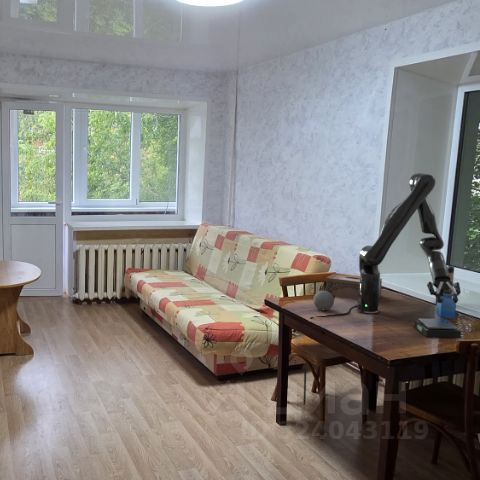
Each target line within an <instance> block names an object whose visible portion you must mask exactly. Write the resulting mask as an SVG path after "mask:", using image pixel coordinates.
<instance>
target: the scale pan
mask: <svg viewBox="0 0 480 480" xmlns="http://www.w3.org/2000/svg"><path fill="white" fill-rule="evenodd" d="M417 320H418V321H420V322H421V323H422V324H423V325H425V326H426V327H427V328H428V329H459V328H458V327H457V326H456V324H453V323H452V322H450V321H449V320H448V319H447V318H417Z"/></svg>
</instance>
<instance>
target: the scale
mask: <svg viewBox="0 0 480 480" xmlns="http://www.w3.org/2000/svg"><path fill="white" fill-rule="evenodd" d="M414 328H415V329H416V330H417V331H419V333H421V334H422V335H423V336H424V337H426V338H451V339H452V338H455V339H457V338H458V339H460V338H461V335H462V331H461V330H460V329H459V328H458V329H428V328H427V327H426V326H425V325H423V324H422V323H421V322H420V321H418V319H415V320H414Z"/></svg>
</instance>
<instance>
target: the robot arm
mask: <svg viewBox="0 0 480 480" xmlns="http://www.w3.org/2000/svg"><path fill="white" fill-rule="evenodd" d="M435 178H436V177H434V175H433V174H429V173H423V172H415V173H414V174H412V175H411V176H410V178H409V180H408V185H409V189H410V193H409V194H408V195H407V197H406V198H405V199H404V200H402V201H401V202H399V203H398V204H397V205H396V206H394V208H392V209H391V210H390V213H388V215H387V217H386V218H385V219H384V222H383V225H382V226H381V231H380V233H379V236H378V238H377V239H376V241H375V242H374V244H373V245H371V244H370V245H365V246H363V247H362V248H361V250H360V251H359V255H358V256H359V257H358V258H359V259H358V271H359V276H360V291H359V292H358V300H357V301H355V305H353V306H351V307H350V308H349V310H348V311H347V312H344V313H334V314H335V315H331V314H326V315H327V316H316V317H312V316H311V317H309V320H312V319H314V318H330V317H331V318H332V317H337V316H347V315H349V314H350V313H352V310H353V309H356V310H358V312H359V313H362V314H370V315H371V314H372V315H373V314H378V313H379V310H380V309H379V308H380V297H379V289H380V279H381V272H380V270H379V265H381V264H382V262H383V261H384V259H385V258H386V256H387V254H388V252H389V250H390V248H391V247H392V245H393V244H394V243H395V241H396V239H397V238H398V237H399V236H400V234H401V232H402V231H403V230H404V229H405V227H406V225H407V224H409V221H410V220H411V218H412V217H413V215H414V214H415V212H416V211H417V214H418V218H419V219H418V220H419V225H420V230H421V233H423V234H426V235H433V236H427V237H422V238H420V240H419V242H418V243H419V247H420V250H421V251H422V252H423V253H424V255H425V256H426V259H427V261H428V267H429V272H430V276H431V279H432V282H431V281H428V282H427V284H426V286H427V290H428V292H429V294H430V295H431V296H434V297H435V301H436V300H437V302H438V303H441V301H442V300H441V297H440V294H439V292H440V291H444V290H450V291H451V294H452V299H453V300H454V302H455V304H456V305H457V303H458V302H459V298H458V296H459V295H460V294H461V286H460V282H458V281H457V282H453V283H452V281H451V279H450V275H449V271H448V268H447V267H448V265H447V263H446V260H445V256H444V254H443V252H441V251H440V250H442V249H443V248H444V246H445V242H444V240H443V238H442V236H441V233H440V232H439V229H438V225H437V219H436V215H435V212H434V210H433V208H432V206H431V203H430V202H429V198H428V195H430V194H431V192H432V191H433V190H434V189H435V186H436V179H435ZM452 285H453V287H452ZM436 288H437V289H436ZM303 368H304V369H303V405H306V399H307V398H306V397H307V367H303Z"/></svg>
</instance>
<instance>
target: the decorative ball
mask: <svg viewBox="0 0 480 480" xmlns="http://www.w3.org/2000/svg"><path fill="white" fill-rule="evenodd" d="M312 300H313V305H314V306H315V307H316V309H318V310H320V311H322V310H321V309H324V310H323V311H328V310H330V309H331V308H332V307H333V306H334V305H335V304H334V303H335V299H334V296H332V295H331V293H329V292H327V291H326V290H320V291H318V292H316V293H315V294H314V295H313V299H312ZM327 309H328V310H327Z"/></svg>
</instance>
